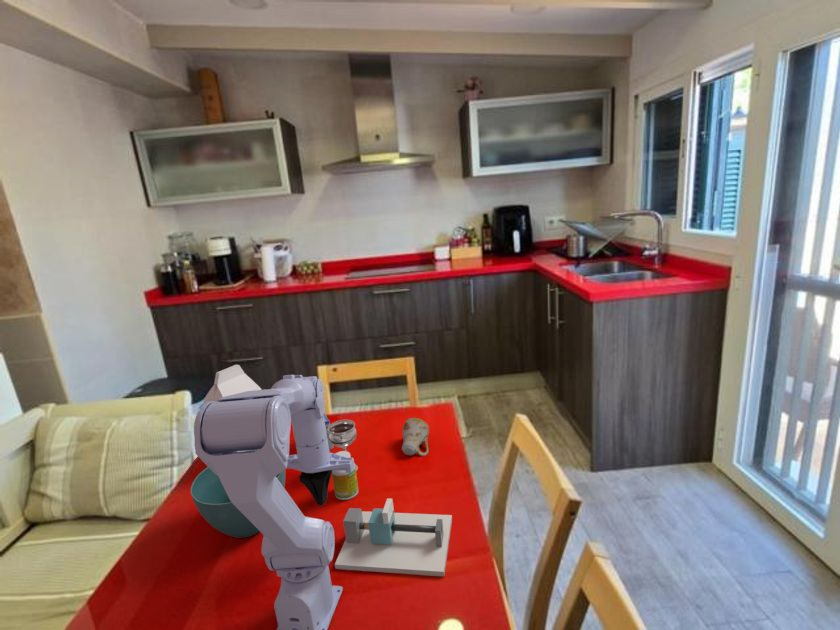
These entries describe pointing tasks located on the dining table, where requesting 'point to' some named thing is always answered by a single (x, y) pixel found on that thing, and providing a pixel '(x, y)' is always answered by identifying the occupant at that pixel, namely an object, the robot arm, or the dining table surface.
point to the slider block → (382, 524)
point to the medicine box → (327, 431)
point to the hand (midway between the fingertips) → (322, 501)
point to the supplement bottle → (345, 481)
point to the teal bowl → (221, 505)
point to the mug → (415, 436)
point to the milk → (230, 384)
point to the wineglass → (342, 434)
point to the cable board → (397, 544)
